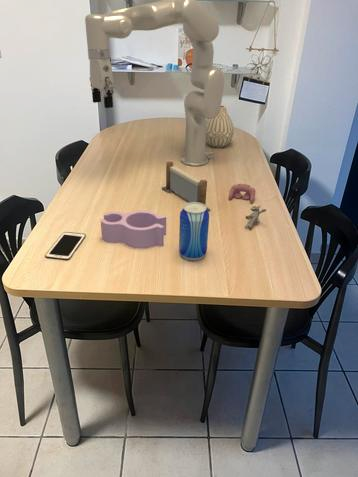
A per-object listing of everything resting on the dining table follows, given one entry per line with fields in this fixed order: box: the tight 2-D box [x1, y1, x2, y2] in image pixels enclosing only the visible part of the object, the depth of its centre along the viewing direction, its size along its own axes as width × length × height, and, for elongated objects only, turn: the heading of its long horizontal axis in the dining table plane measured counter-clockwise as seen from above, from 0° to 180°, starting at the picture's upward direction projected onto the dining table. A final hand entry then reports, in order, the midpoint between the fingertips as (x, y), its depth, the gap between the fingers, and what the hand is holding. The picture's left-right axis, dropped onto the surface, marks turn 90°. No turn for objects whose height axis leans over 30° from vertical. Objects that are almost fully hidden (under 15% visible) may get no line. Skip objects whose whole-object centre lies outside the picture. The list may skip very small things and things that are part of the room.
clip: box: [100, 210, 167, 250], centre depth 125 cm, size 20×12×7 cm, turn 84°
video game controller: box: [228, 183, 256, 204], centre depth 152 cm, size 10×5×7 cm, turn 71°
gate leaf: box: [170, 165, 200, 203], centre depth 148 cm, size 17×2×9 cm, turn 36°
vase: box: [206, 104, 235, 148], centre depth 202 cm, size 16×16×20 cm
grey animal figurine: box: [244, 205, 267, 229], centre depth 135 cm, size 10×6×9 cm
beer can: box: [178, 201, 210, 261], centre depth 115 cm, size 8×8×16 cm
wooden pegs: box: [161, 161, 211, 213], centre depth 148 cm, size 25×4×12 cm, turn 35°
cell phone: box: [44, 231, 87, 261], centre depth 122 cm, size 8×15×1 cm, turn 171°
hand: (102, 104), depth 147 cm, fingers open, 9 cm apart
